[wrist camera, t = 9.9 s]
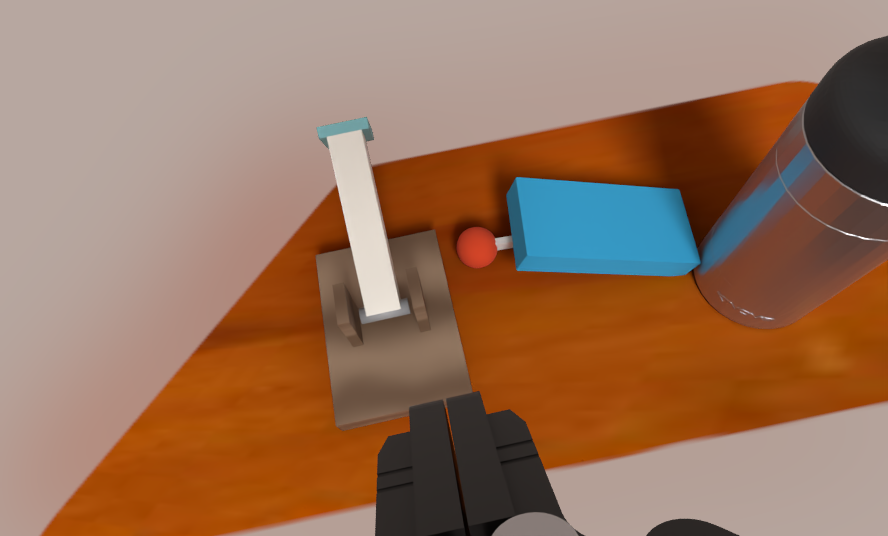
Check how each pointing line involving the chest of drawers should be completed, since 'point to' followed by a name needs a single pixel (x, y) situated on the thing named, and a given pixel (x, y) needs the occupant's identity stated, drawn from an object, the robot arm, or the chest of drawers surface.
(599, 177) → the chest of drawers surface
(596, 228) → the lever
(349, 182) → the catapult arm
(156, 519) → the chest of drawers surface
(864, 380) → the chest of drawers surface
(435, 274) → the catapult stand
